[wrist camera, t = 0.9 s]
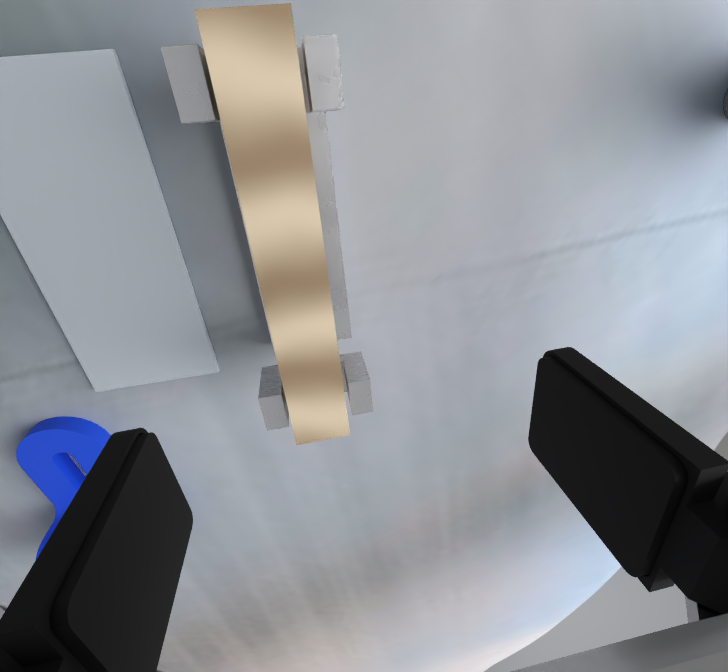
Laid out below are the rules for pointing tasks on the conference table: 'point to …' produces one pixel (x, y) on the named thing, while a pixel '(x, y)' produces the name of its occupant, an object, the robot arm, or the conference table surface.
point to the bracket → (60, 459)
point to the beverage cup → (726, 103)
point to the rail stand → (319, 97)
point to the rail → (279, 203)
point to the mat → (96, 220)
